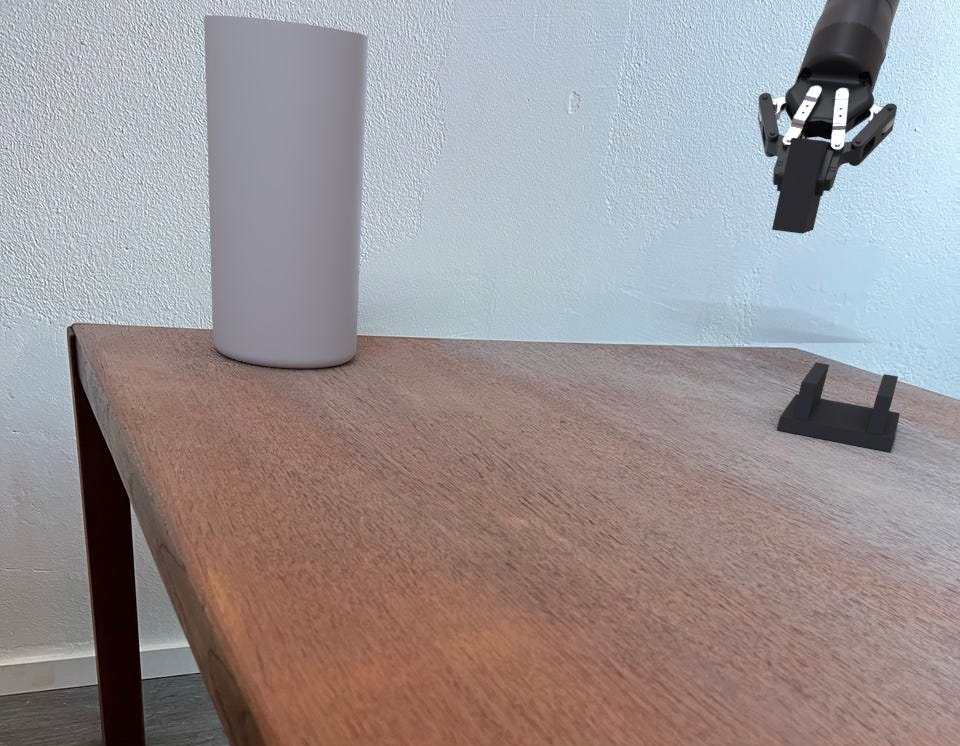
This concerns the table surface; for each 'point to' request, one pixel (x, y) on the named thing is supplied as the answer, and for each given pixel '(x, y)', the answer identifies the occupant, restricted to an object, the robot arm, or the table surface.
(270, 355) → the cylinder vase
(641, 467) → the table surface
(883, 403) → the base pad
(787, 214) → the block
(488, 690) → the table surface
